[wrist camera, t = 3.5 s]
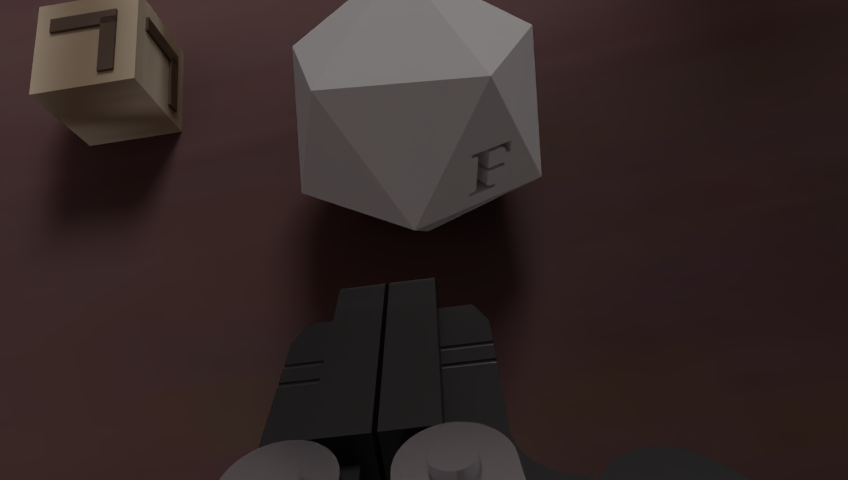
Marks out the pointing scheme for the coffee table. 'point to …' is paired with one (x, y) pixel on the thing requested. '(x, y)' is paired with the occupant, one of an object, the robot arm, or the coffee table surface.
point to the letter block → (108, 70)
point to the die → (416, 108)
